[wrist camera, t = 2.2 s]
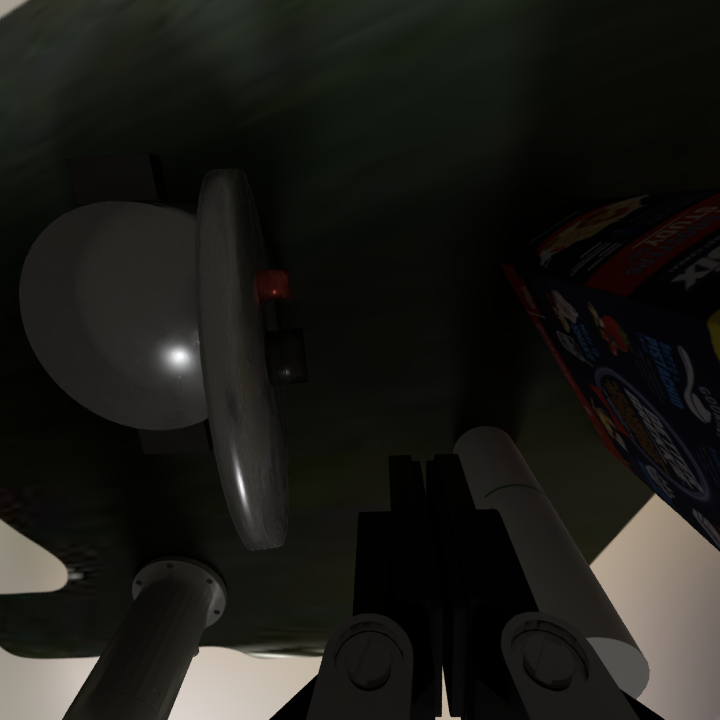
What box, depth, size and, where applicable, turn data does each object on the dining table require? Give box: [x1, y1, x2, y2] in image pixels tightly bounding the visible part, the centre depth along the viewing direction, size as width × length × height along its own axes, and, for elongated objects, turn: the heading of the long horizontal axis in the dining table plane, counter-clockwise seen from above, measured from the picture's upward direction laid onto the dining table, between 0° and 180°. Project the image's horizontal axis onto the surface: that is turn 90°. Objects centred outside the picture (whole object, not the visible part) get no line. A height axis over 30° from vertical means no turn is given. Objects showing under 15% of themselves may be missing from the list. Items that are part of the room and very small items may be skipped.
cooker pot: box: [19, 153, 286, 454], centre depth 38 cm, size 24×20×12 cm
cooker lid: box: [195, 168, 308, 551], centre depth 23 cm, size 19×19×3 cm
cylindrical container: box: [453, 426, 650, 699], centre depth 37 cm, size 7×7×25 cm
